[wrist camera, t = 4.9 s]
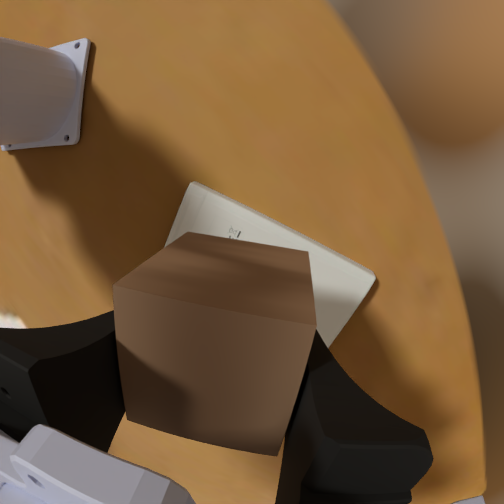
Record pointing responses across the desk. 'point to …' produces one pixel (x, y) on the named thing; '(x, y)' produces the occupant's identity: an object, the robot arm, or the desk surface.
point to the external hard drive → (277, 234)
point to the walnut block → (216, 340)
